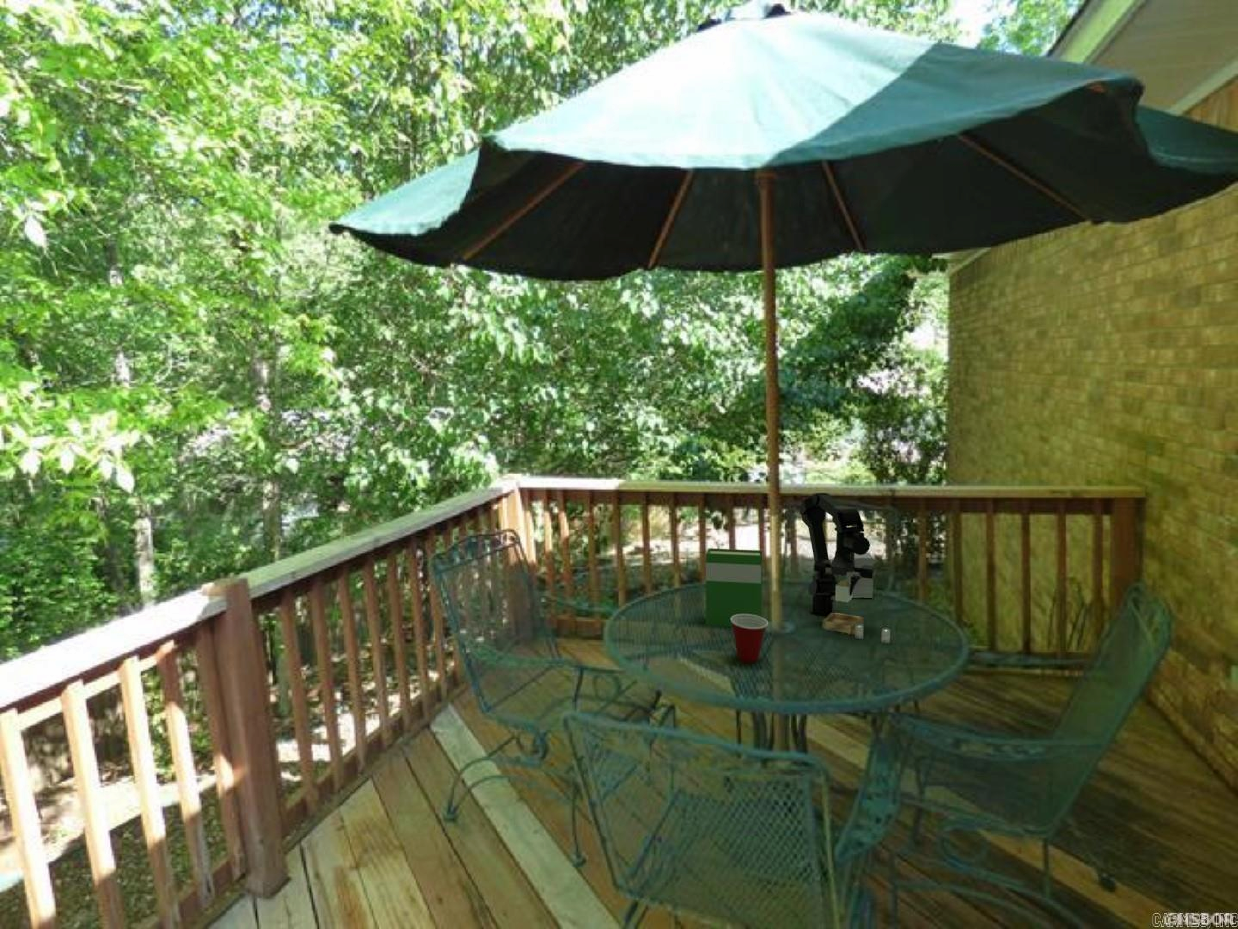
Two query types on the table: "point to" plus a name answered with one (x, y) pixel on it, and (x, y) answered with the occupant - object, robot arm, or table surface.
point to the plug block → (843, 591)
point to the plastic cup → (748, 636)
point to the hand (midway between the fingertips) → (843, 594)
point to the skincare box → (864, 584)
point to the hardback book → (732, 584)
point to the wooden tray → (842, 622)
